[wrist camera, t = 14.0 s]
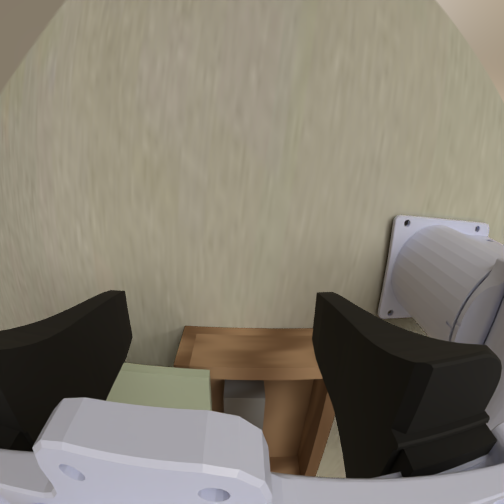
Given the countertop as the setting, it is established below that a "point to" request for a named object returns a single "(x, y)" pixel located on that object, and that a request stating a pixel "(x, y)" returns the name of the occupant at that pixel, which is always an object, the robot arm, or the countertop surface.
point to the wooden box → (266, 388)
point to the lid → (162, 387)
